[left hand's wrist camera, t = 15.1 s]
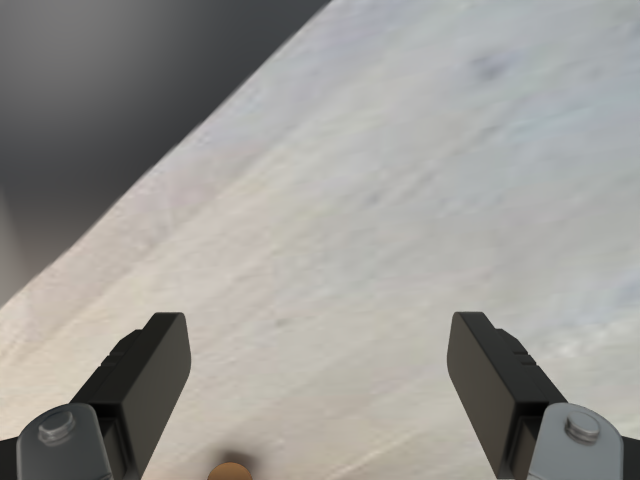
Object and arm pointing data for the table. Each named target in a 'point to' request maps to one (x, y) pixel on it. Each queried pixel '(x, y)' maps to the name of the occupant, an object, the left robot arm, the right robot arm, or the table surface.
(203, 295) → the table surface
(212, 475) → the rod
